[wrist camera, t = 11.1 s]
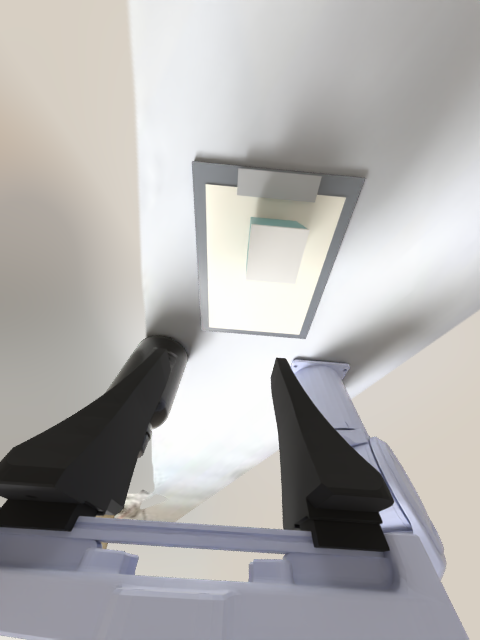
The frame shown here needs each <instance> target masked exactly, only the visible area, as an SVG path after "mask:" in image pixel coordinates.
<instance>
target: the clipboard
mask: <svg viewBox="0 0 480 640" xmlns="http://www.w3.org/2000/svg"><path fill="white" fill-rule="evenodd" d="M192 173H193V191H194V209H195V227H196V244H197V262H198V280H199V298H200V316H201V330H203V331H215V332H227V333H239V334H252V335H264V336H276V337H288V338H300V339H306V336H307V334H308V331H309V328H310V326H311V323H312V320H313V318H314V315H315V312H316V309H317V307H318V304H319V301H320V299H321V296H322V293H323V291H324V288H325V285H326V283H327V280H328V277H329V275H330V272H331V269H332V267H333V264H334V261H335V259H336V256H337V253H338V250H339V248H340V245H341V242H342V240H343V237H344V234H345V232H346V229H347V226H348V224H349V221H350V218H351V216H352V213H353V210H354V208H355V205H356V202H357V200H358V197H359V194H360V191H361V189H362V186H363V183H364V181H365V178H361V177H351V176H340V175H330V174H320V173H309V172H299V171H289V170H278V169H268V168H257V167H247V166H237V165H226V164H216V163H206V162H195V161H192ZM251 217H258V218H269V219H280V220H291V221H297V222H298V223H300V224H301V225H303V226H304V227H306V228H307V229H309V230H310V231H309V234H308V238H307V242H306V246H305V249H304V253H303V257H302V261H301V264H300V268H299V272H298V275H297V279H296V283H295V284H286V283H275V282H263V281H252V280H246V259H247V249H248V239H249V229H250V218H251Z"/></svg>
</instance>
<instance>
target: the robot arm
mask: <svg viewBox="0 0 480 640" xmlns="http://www.w3.org/2000/svg"><path fill="white" fill-rule="evenodd" d="M349 369H350V365H349V364H346V363H333V362H321V361H309V360H294V361H293V362H292V364H291V367H290V365H289V363H288V362H287V360H286V359H285V358H276V360H275V364H274V368H273V371H272V375H271V390H272V398H273V404H274V410H275V416H276V422H277V428H278V437H279V450H280V464H281V483H282V508H283V528H284V530H282V529H266V528H251V527H236V526H221V525H206V524H205V525H204V524H190V523H176V522H161V521H146V520H131V519H116V518H101V517H96V516H104V515H116V514H118V513H119V512H120V511H121V510H122V509H123V508H124V504H125V500H126V496H127V492H128V489H129V485H130V482H131V478H132V475H133V472H134V468H135V465H136V462H137V458H138V455H139V452H140V449H141V446H142V443H143V440H144V437H145V434H146V431H147V428H148V425H149V423H150V420H151V418H152V416H153V413H154V411H155V409H156V407H157V405H158V402H159V400H160V398H161V396H162V393H163V391H164V389H165V387H166V384H167V381H168V378H169V375H170V372H171V367H170V362H169V357H168V353H167V349H161V348H157V349H156V350H155V351H154V352H153V353H152V354H150V355H149V356H148V357H147V358H146V359H145V360H144V361H143V362H142V363H141V364H140V365H139V366H138V367H136V368H135V369H134V370H133V371H132V372H131V373H130V374H129V375H127V376H126V377H125V378H124V379H123V380H121V381H120V382H119V383H118V384H117V385H115V386H114V387H113V388H112V389H110V390H109V391H108V392H106V393H105V394H104V395H102V396H101V397H99V398H98V399H97V400H95V401H94V402H92V403H91V404H89V405H88V406H86V407H85V408H83V409H82V410H80V411H78V412H77V413H75V414H74V415H72V416H71V417H69V418H67V419H66V420H64V421H62V422H60V423H59V424H57V425H55V426H53V427H52V428H50V429H48V430H46V431H44V432H43V433H41V434H39V435H37V436H35V437H33V438H31V439H30V440H27V441H25V442H23V443H21V444H20V445H18V446H16V447H14V448H12V450H11V451H10V452H9V453H8V454H7V455H6V456H5V457H4V458H3V459H2V461H1V462H0V496H2V497H4V498H7V499H8V500H7V501H6V503H5V504H4V505H3V506H2V507H0V635H1V636H7V637H14V638H21V639H27V640H469V638H468V636H467V634H466V632H465V630H464V628H463V626H462V623H461V621H460V619H459V617H458V615H457V613H456V611H455V609H454V607H453V605H452V603H451V601H450V599H449V597H448V595H447V593H446V591H445V589H444V587H443V585H442V583H441V579H442V577H443V574H444V572H445V568H446V560H445V556H444V547H443V544H442V542H441V539H440V537H439V535H438V533H437V531H436V529H435V527H434V525H433V523H432V522H431V520H430V518H429V516H428V514H427V512H426V510H425V508H424V506H423V503H422V501H421V500H420V497H419V496H418V494H417V492H416V490H415V488H414V486H413V485H412V483H411V481H410V479H409V477H408V476H407V474H406V472H405V471H404V469H403V467H402V465H401V464H400V462H399V461H398V459H397V458H396V456H395V455H394V453H393V451H392V450H391V449H390V447H389V446H388V445H387V443H385V442H384V441H382V440H380V439H379V438H377V437H372V438H370V436H369V435H368V434H367V431H366V429H365V427H364V425H363V423H362V421H361V419H360V417H359V415H358V413H357V411H356V409H355V407H354V405H353V403H352V401H351V399H350V397H349V394H348V392H347V390H346V388H345V386H344V384H343V382H342V380H343V378H344V377H345V375H346V373H347V372H348V370H349ZM100 542H104V543H121V544H136V545H151V546H166V547H183V548H197V549H198V548H199V549H213V550H229V551H230V550H231V551H244V552H260V553H275V554H276V553H277V554H286V555H285V556H284V557H283V560H277V559H272V560H271V559H254V561H253V562H251V563H250V564H249V582H237V581H221V580H205V579H189V578H188V579H187V578H172V577H156V576H140V575H135V569H136V566H137V562H138V559H139V557H138V555H133V554H129V553H126V552H125V551H118V550H108V549H102V543H100Z"/></svg>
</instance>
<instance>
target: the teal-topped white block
mask: <svg viewBox="0 0 480 640" xmlns="http://www.w3.org/2000/svg"><path fill="white" fill-rule="evenodd" d="M309 231H310V230H309V229H307V228H306V227H304V226H303V225H301V224H300V223H298V222H297V221H291V220H280V219H269V218H258V217H251V218H250V229H249V239H248V249H247V259H246V280H252V281H263V282H275V283H286V284H295V283H296V279H297V275H298V272H299V268H300V264H301V261H302V257H303V253H304V249H305V246H306V242H307V238H308V234H309Z"/></svg>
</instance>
